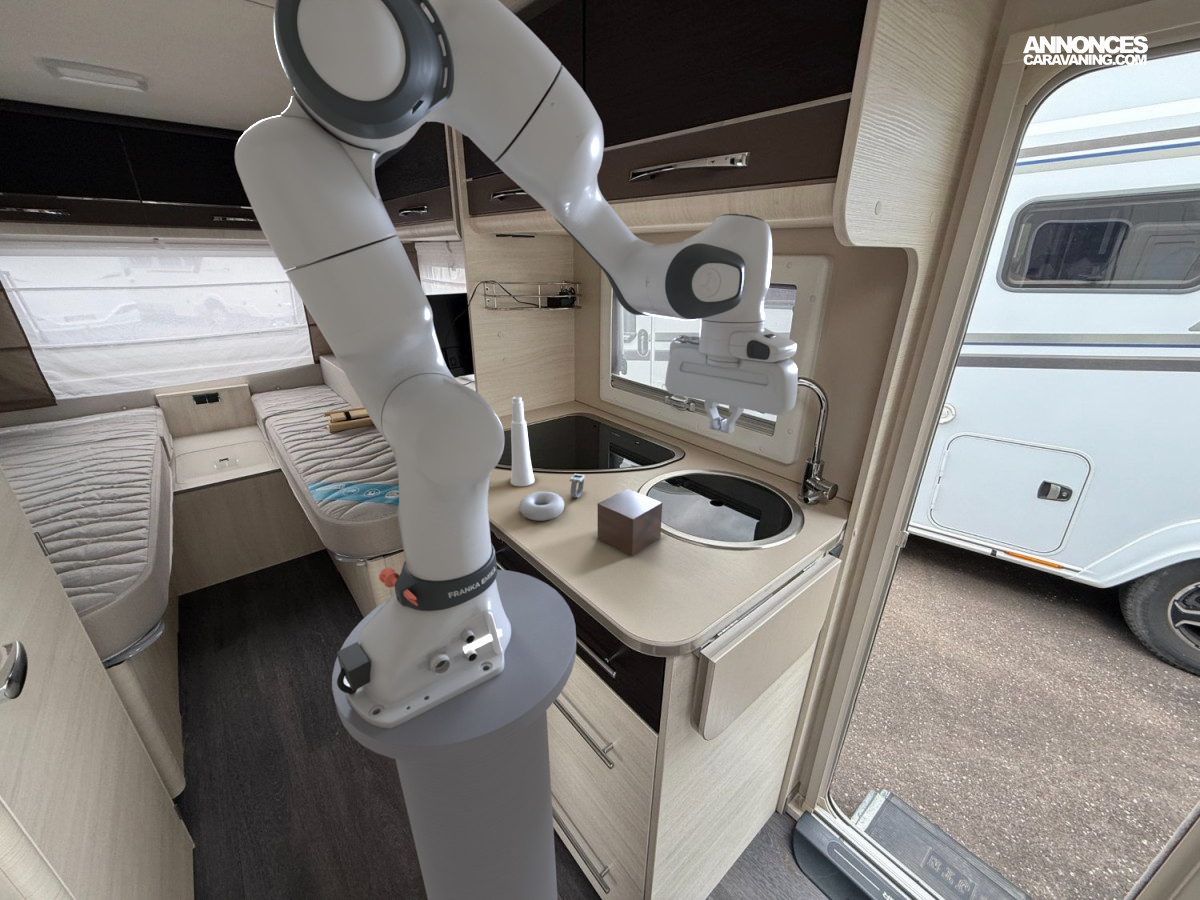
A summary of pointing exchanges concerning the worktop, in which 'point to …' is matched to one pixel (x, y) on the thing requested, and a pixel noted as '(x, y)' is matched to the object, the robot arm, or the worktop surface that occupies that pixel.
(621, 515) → the walnut block
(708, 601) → the worktop surface
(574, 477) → the wristwatch
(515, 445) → the cosmetic bottle
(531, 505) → the donut
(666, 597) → the worktop surface
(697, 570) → the worktop surface
